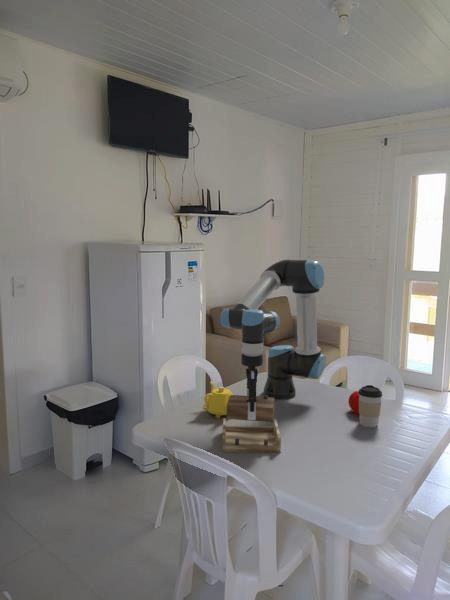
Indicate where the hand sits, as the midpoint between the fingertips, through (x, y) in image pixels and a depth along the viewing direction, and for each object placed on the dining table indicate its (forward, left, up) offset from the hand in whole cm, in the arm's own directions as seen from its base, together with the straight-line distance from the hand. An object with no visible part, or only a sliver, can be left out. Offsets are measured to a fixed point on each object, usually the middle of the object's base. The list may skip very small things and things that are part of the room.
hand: (250, 413), depth 161 cm
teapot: (-26, -12, -11) cm, 31 cm away
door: (0, 0, -1) cm, 1 cm away
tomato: (-30, +49, -11) cm, 59 cm away
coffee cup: (-18, +48, -11) cm, 53 cm away
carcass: (0, 0, -11) cm, 11 cm away
